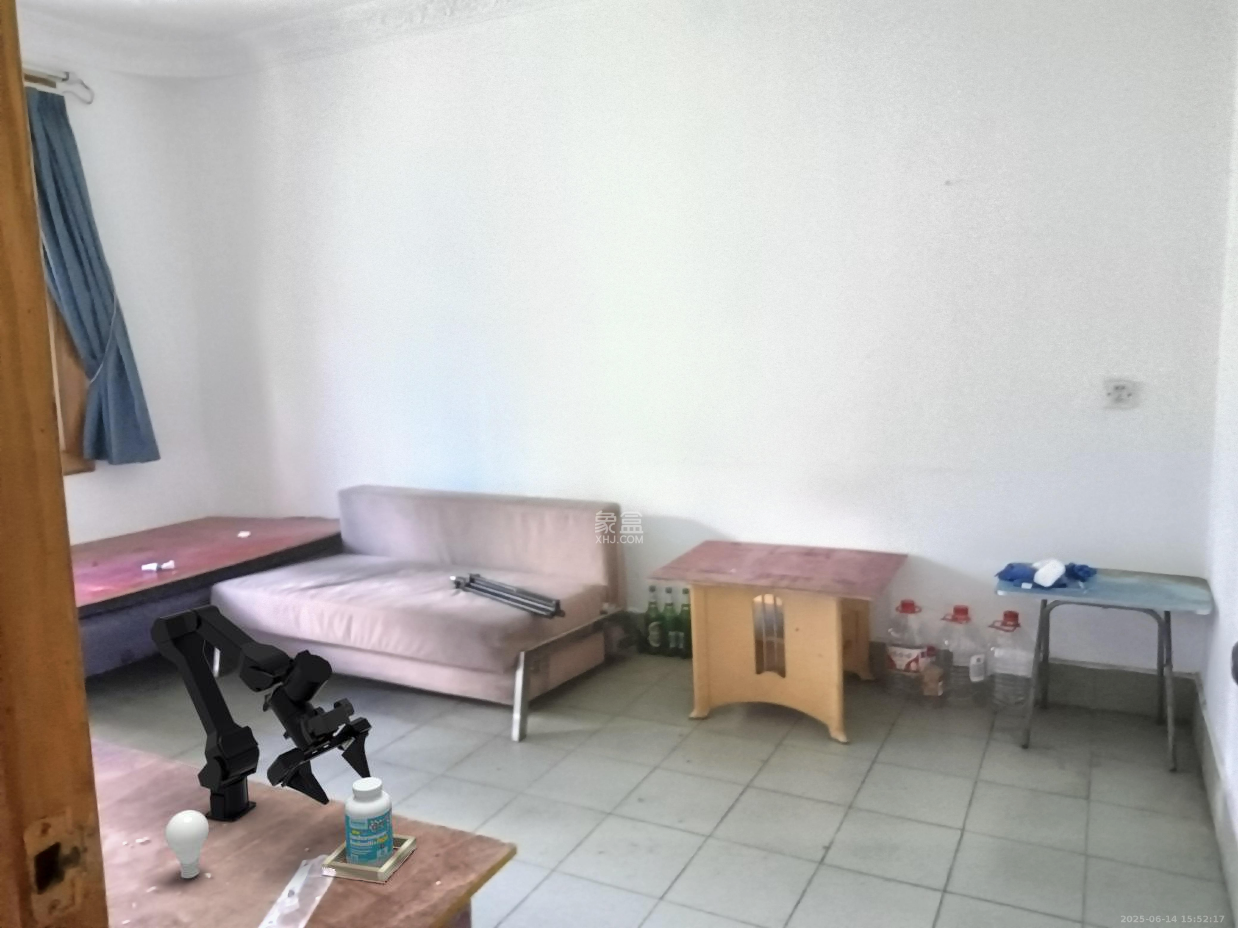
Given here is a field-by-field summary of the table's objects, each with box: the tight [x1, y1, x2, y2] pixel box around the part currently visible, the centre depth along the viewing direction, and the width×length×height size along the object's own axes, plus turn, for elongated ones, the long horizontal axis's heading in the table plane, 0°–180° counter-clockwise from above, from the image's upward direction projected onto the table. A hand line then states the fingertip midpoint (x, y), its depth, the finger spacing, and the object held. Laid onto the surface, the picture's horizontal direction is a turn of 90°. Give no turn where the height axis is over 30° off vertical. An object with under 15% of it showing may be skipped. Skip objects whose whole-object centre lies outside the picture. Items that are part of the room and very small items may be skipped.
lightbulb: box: [164, 809, 210, 879], centre depth 147 cm, size 6×6×11 cm
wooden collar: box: [321, 833, 418, 882], centre depth 152 cm, size 11×11×2 cm
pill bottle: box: [344, 776, 394, 868], centre depth 151 cm, size 8×7×14 cm
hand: (348, 791), depth 152 cm, fingers open, 9 cm apart
